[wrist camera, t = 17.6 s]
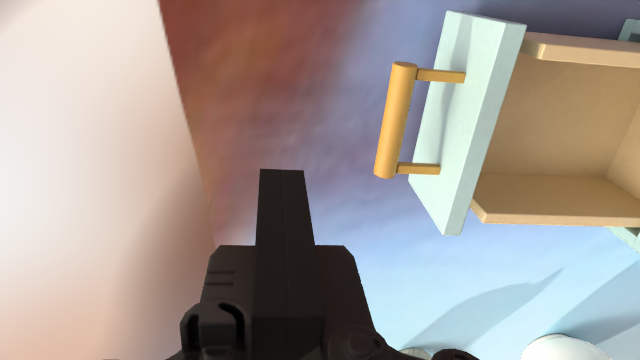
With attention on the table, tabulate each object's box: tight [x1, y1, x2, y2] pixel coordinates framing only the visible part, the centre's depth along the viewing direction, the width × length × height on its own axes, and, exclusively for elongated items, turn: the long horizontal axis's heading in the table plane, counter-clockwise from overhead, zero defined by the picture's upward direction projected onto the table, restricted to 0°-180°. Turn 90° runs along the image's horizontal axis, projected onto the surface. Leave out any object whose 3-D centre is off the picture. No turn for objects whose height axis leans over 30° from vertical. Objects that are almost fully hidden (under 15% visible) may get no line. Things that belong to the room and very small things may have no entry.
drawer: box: [374, 10, 640, 236], centre depth 26 cm, size 21×13×7 cm, turn 84°
